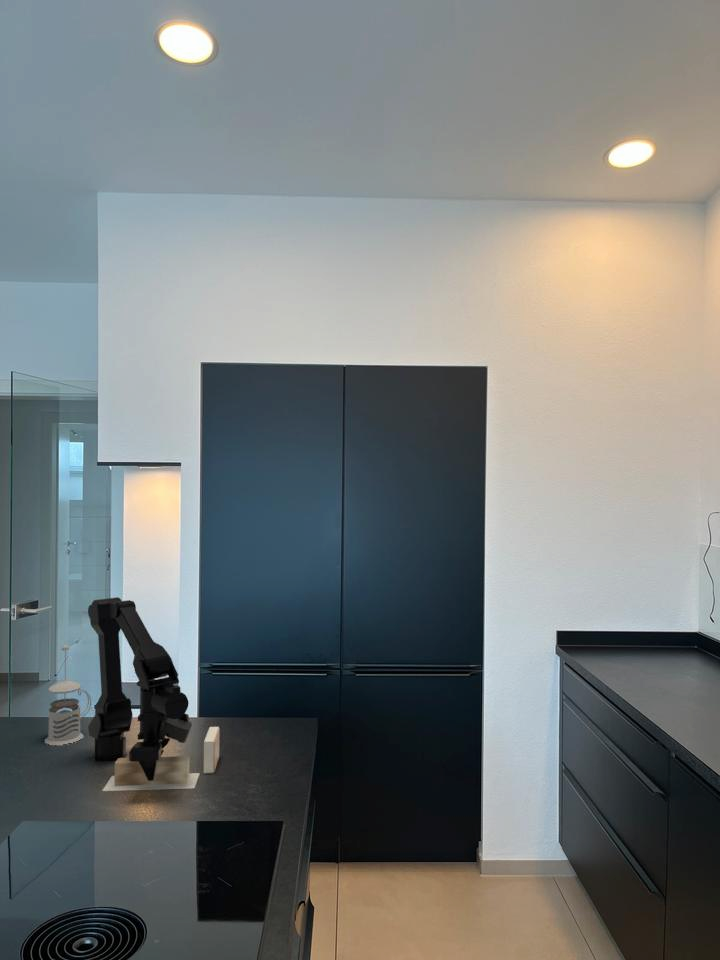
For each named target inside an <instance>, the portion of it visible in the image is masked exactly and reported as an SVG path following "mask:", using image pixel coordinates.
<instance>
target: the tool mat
mask: <svg viewBox="0 0 720 960" xmlns="http://www.w3.org/2000/svg"><path fill="white" fill-rule="evenodd" d="M199 777H200V772H198V773H197V772H195V773H193V772H192V773H191V772H189V780H188V783H187V784H155V785H122V786H115V775H112V776H111V777H110V778H109V780H108V781H107V783H106V784H105V786H104V787H103V788H102V791H101V792H116V791H117V792H118V791H119V792H120V791H125V792H126V791H151V790H181V789H182V790H183V789H184V790H185V789H190V790H191V789H195V787H196V785H197V782H198V779H199Z"/></svg>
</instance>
